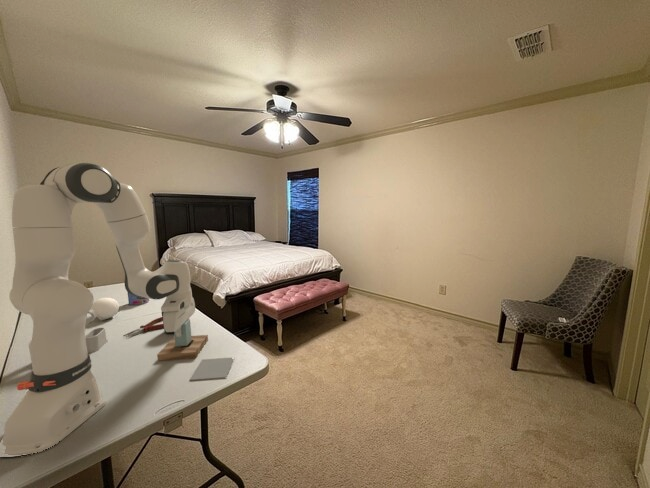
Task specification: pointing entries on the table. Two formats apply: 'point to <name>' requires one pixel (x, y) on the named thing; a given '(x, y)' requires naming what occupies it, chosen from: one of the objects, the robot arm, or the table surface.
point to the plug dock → (183, 349)
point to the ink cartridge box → (136, 299)
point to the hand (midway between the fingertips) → (182, 332)
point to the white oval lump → (105, 308)
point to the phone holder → (95, 335)
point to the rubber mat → (212, 369)
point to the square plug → (184, 335)
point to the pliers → (147, 327)
